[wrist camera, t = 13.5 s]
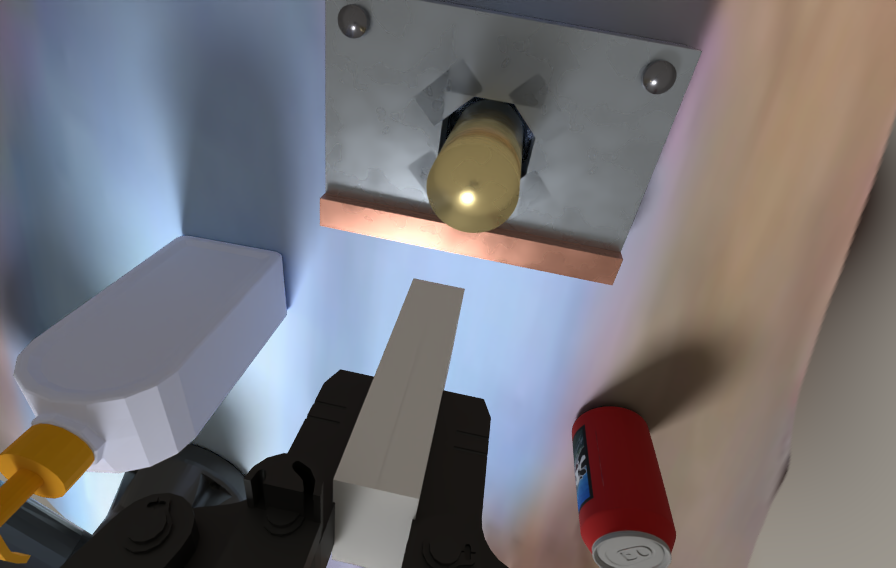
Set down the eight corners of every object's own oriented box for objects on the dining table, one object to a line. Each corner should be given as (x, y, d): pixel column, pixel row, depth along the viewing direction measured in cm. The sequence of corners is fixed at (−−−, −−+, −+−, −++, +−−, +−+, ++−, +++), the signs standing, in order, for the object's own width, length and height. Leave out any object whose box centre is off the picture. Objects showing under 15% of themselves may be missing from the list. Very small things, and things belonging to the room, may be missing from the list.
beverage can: (556, 416, 44) (563, 544, 34) (622, 388, 41) (652, 520, 31) (595, 457, 46) (613, 589, 36) (661, 434, 43) (700, 570, 33)
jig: (340, 202, 35) (320, 225, 32) (344, -17, 27) (318, -17, 24) (604, 256, 34) (612, 285, 31) (685, 44, 26) (708, 53, 23)
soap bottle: (196, 300, 43) (-76, 556, 24) (181, 233, 39) (-159, 472, 20) (290, 319, 42) (90, 595, 23) (284, 252, 38) (39, 517, 19)
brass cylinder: (450, 161, 32) (421, 223, 24) (460, 93, 30) (432, 135, 21) (514, 174, 32) (508, 240, 24) (530, 106, 29) (529, 154, 21)
